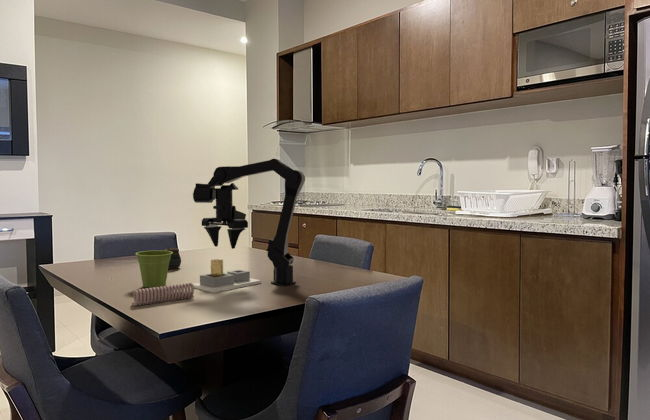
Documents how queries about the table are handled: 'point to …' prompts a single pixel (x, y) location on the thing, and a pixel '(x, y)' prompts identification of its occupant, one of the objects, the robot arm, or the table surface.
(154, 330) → the table surface
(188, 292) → the coil
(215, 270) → the cylinder
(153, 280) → the plant pot
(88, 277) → the table surface
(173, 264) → the mate gourd
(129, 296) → the table surface
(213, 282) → the fitting board
